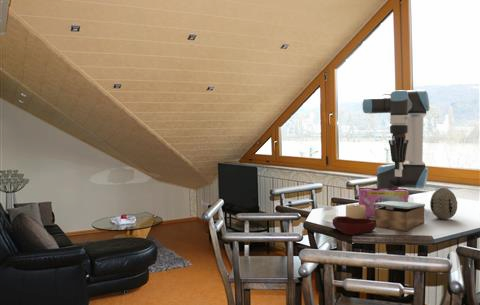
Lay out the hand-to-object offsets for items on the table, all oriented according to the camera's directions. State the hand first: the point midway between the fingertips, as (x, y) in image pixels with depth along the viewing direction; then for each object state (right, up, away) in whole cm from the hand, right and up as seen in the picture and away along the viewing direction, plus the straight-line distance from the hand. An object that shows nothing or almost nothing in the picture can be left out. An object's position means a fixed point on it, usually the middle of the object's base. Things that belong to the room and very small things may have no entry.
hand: (398, 176), depth 195 cm
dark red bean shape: (-25, -23, -15) cm, 37 cm away
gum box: (-2, -21, +17) cm, 27 cm away
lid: (-1, -14, -4) cm, 14 cm away
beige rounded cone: (-17, -21, +8) cm, 29 cm away
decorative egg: (+25, -21, +9) cm, 34 cm away
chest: (0, -22, -3) cm, 22 cm away
